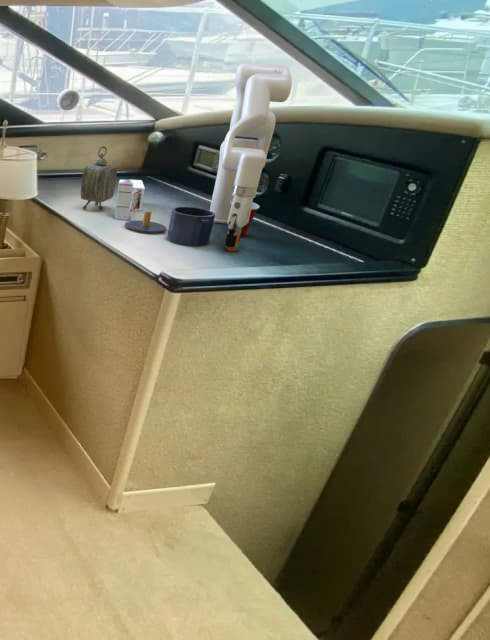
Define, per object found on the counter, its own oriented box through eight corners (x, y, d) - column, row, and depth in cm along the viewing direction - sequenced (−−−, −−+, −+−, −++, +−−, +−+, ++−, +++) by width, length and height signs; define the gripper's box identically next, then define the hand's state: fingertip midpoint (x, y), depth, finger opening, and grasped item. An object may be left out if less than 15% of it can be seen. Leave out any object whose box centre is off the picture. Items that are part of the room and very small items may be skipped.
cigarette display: (126, 200, 272) (129, 179, 267) (138, 201, 271) (141, 180, 267) (128, 210, 254) (131, 188, 250) (141, 211, 254) (145, 189, 249)
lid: (156, 223, 237) (159, 206, 234) (172, 234, 224) (175, 216, 221) (119, 223, 235) (121, 206, 232) (133, 234, 221) (135, 216, 218)
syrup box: (128, 220, 240) (134, 182, 233) (113, 218, 240) (118, 181, 234) (128, 217, 245) (134, 180, 238) (114, 215, 245) (119, 178, 238)
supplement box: (223, 248, 211) (230, 219, 206) (233, 248, 211) (239, 219, 207) (227, 250, 208) (234, 222, 203) (237, 251, 209) (244, 222, 204)
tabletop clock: (94, 204, 262) (102, 143, 250) (113, 208, 257) (121, 146, 245) (78, 209, 251) (85, 146, 239) (97, 213, 247) (105, 149, 235)
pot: (194, 233, 227) (200, 205, 222) (219, 248, 210) (226, 218, 205) (158, 232, 225) (163, 204, 220) (180, 248, 207) (186, 218, 202)
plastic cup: (238, 239, 222) (246, 207, 216) (216, 232, 230) (223, 200, 224) (258, 237, 226) (266, 205, 221) (236, 230, 235) (244, 198, 229)
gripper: (248, 197, 192) (235, 252, 201) (262, 189, 205) (249, 242, 213) (225, 193, 196) (213, 247, 205) (240, 186, 208) (228, 237, 217)
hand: (231, 244), depth 209 cm, fingers closed on supplement box, 4 cm apart
